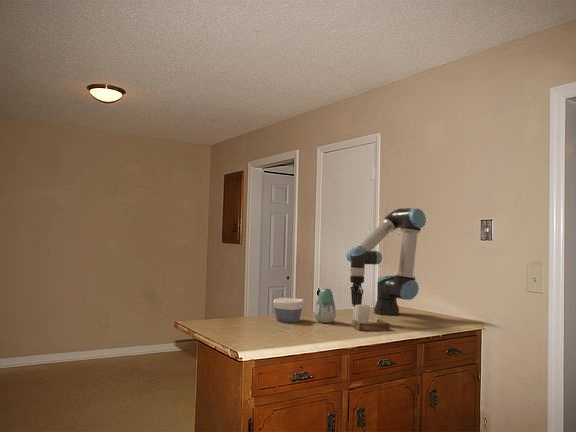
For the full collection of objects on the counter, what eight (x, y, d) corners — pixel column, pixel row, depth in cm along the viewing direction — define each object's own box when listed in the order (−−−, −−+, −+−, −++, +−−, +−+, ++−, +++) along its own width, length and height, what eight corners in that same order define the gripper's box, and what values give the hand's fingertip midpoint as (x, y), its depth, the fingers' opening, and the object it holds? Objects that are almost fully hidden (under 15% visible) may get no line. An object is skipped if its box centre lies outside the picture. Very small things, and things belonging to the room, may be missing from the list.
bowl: (269, 321, 259) (270, 300, 260) (280, 316, 273) (281, 297, 274) (296, 324, 253) (296, 302, 254) (306, 319, 268) (306, 299, 268)
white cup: (360, 326, 254) (360, 307, 254) (351, 323, 261) (351, 304, 261) (372, 325, 257) (372, 306, 258) (363, 322, 264) (363, 304, 265)
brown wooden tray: (352, 326, 251) (352, 320, 251) (380, 326, 255) (380, 319, 255) (359, 330, 242) (359, 323, 242) (389, 330, 246) (389, 323, 246)
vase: (311, 322, 259) (312, 289, 259) (317, 319, 270) (318, 286, 270) (332, 324, 255) (333, 290, 255) (338, 321, 266) (339, 288, 266)
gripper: (346, 274, 273) (345, 316, 272) (355, 276, 260) (354, 320, 259) (359, 274, 275) (357, 316, 274) (368, 276, 262) (367, 320, 261)
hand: (355, 318), depth 267 cm, fingers closed
